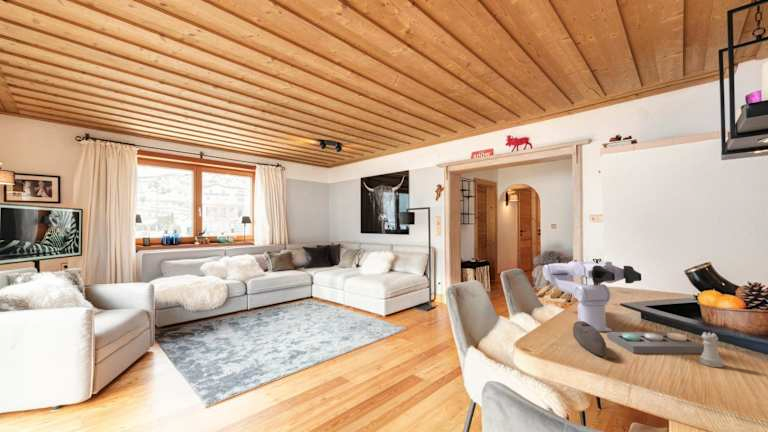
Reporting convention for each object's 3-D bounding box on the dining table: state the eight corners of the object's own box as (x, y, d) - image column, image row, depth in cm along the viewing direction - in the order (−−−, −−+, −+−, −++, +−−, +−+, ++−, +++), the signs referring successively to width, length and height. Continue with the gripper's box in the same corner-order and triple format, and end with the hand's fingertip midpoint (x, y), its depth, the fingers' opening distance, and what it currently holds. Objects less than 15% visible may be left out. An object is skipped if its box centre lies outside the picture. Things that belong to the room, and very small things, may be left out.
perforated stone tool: (614, 360, 89) (612, 335, 89) (593, 360, 90) (592, 334, 90) (589, 341, 104) (588, 320, 104) (572, 341, 105) (570, 319, 105)
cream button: (663, 336, 101) (663, 332, 101) (678, 336, 100) (678, 332, 100) (674, 341, 96) (674, 337, 96) (690, 341, 96) (690, 337, 96)
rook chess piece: (729, 368, 82) (726, 336, 82) (708, 367, 83) (706, 336, 83) (715, 361, 86) (712, 331, 87) (695, 360, 87) (693, 330, 88)
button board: (607, 338, 106) (606, 332, 106) (672, 338, 104) (672, 331, 104) (633, 353, 93) (633, 346, 94) (708, 353, 91) (708, 346, 92)
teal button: (619, 337, 102) (618, 333, 102) (634, 336, 102) (633, 333, 102) (628, 341, 98) (627, 337, 98) (643, 341, 97) (643, 337, 97)
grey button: (641, 336, 101) (640, 333, 101) (656, 336, 101) (655, 333, 101) (651, 341, 97) (651, 337, 97) (667, 341, 97) (666, 337, 97)
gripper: (578, 260, 113) (601, 263, 99) (621, 260, 112) (651, 263, 98) (578, 280, 112) (602, 286, 99) (622, 281, 111) (652, 287, 98)
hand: (626, 276), depth 98 cm, fingers open, 7 cm apart
